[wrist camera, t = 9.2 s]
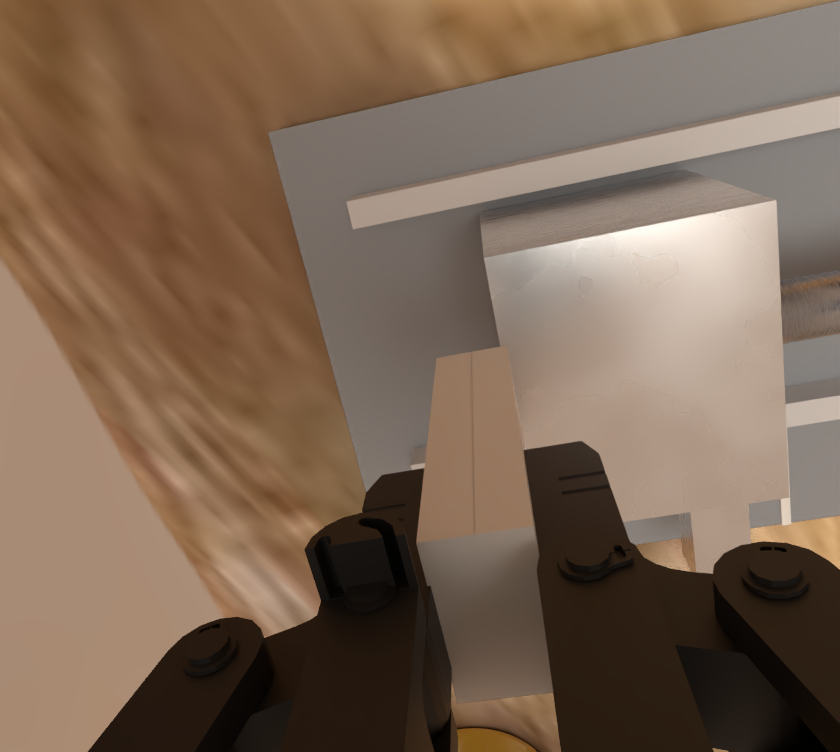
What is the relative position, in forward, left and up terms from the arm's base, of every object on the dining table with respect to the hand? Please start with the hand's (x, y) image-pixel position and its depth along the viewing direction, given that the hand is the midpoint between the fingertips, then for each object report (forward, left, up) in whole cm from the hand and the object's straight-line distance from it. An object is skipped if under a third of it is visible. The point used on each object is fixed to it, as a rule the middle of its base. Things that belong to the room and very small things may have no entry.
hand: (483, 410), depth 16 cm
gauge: (+3, +8, -8) cm, 11 cm away
